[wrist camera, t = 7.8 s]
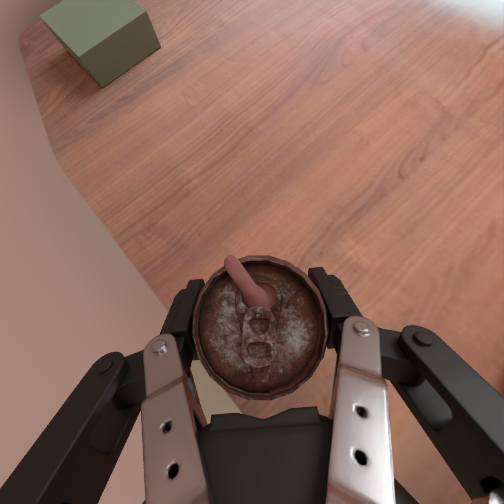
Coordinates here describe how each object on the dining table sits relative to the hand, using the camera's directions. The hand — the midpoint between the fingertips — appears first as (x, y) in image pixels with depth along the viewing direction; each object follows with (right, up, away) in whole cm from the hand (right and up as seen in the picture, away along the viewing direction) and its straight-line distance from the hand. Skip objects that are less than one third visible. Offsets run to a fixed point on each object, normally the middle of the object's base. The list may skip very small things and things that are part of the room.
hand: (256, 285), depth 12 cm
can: (+1, -4, +10) cm, 11 cm away
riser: (-22, +34, +19) cm, 45 cm away
